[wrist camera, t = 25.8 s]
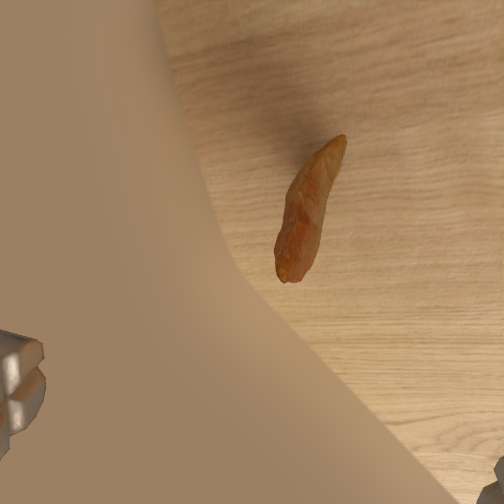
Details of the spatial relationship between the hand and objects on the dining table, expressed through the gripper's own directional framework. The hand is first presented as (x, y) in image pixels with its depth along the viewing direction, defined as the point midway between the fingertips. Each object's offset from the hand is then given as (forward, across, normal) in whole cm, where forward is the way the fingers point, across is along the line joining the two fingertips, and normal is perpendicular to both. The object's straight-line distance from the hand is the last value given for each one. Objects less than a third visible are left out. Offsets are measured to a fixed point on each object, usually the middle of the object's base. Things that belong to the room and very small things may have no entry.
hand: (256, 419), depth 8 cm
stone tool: (+21, 0, 0) cm, 21 cm away
